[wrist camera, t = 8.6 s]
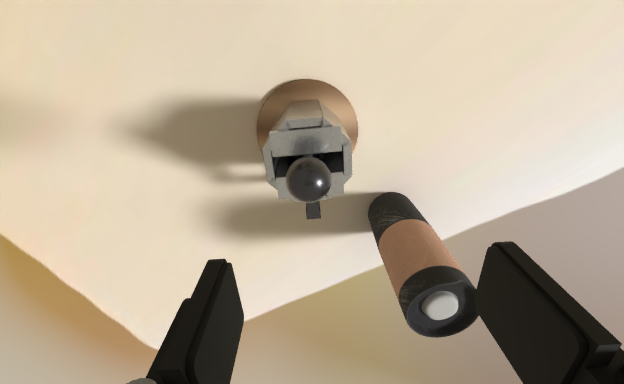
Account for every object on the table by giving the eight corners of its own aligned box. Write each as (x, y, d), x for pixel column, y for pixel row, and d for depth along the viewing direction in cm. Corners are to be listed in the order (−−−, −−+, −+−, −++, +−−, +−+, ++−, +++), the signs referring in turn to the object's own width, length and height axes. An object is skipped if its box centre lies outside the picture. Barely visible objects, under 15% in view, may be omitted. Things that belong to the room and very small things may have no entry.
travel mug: (370, 236, 48) (408, 344, 30) (362, 196, 45) (400, 291, 27) (416, 226, 48) (483, 331, 29) (411, 185, 44) (484, 274, 26)
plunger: (281, 118, 36) (266, 157, 22) (329, 113, 36) (344, 150, 22) (287, 163, 38) (277, 224, 25) (332, 159, 38) (347, 218, 24)
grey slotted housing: (271, 103, 38) (256, 124, 27) (337, 97, 38) (351, 115, 27) (282, 183, 43) (274, 229, 32) (341, 178, 43) (354, 222, 32)
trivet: (249, 84, 38) (248, 84, 37) (356, 74, 37) (357, 74, 37) (265, 182, 44) (265, 183, 43) (358, 174, 43) (358, 175, 43)
